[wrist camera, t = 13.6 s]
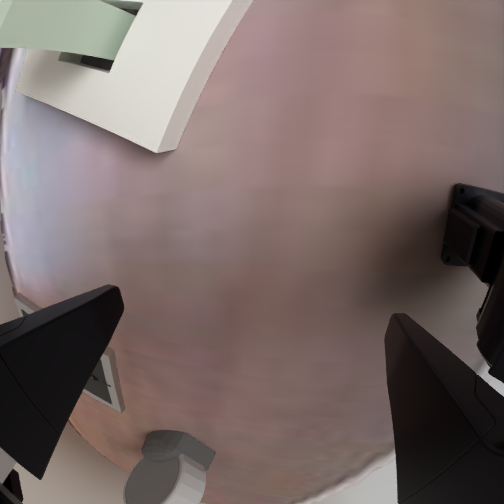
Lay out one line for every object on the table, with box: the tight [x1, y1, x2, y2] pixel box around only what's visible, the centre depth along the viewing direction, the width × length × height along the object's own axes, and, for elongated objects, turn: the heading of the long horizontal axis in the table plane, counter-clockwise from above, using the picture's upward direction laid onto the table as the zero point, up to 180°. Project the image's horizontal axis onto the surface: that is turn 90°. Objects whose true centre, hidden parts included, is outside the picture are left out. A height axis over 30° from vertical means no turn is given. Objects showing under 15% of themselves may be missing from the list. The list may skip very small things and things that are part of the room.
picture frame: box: [14, 293, 125, 413], centre depth 35 cm, size 16×3×21 cm
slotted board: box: [15, 0, 254, 153], centre depth 15 cm, size 20×14×3 cm
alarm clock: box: [123, 430, 215, 504], centre depth 33 cm, size 16×10×18 cm, turn 129°
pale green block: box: [0, 0, 136, 60], centre depth 11 cm, size 5×4×13 cm
